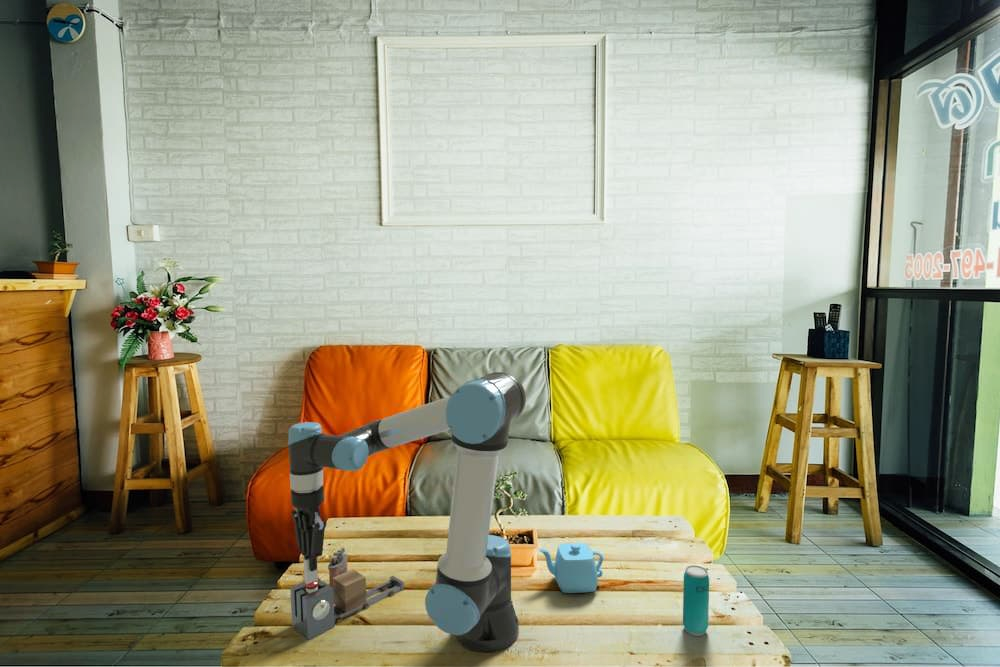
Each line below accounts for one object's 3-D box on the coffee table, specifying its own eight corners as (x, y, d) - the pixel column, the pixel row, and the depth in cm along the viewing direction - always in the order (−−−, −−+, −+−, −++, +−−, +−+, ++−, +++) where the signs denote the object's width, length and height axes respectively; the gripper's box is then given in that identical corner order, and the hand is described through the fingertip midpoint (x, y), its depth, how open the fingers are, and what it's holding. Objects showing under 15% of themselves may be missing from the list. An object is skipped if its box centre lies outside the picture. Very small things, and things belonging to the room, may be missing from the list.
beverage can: (713, 635, 134) (714, 574, 133) (692, 639, 133) (693, 578, 131) (698, 621, 140) (699, 563, 139) (677, 625, 138) (678, 566, 137)
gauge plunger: (321, 608, 139) (320, 582, 139) (309, 614, 137) (308, 587, 136) (315, 603, 141) (314, 577, 141) (303, 608, 139) (302, 582, 138)
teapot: (535, 574, 163) (535, 536, 162) (597, 572, 164) (597, 534, 163) (541, 598, 151) (541, 557, 150) (608, 596, 152) (608, 555, 151)
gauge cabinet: (335, 627, 139) (334, 588, 138) (308, 640, 134) (307, 600, 133) (318, 614, 145) (316, 576, 144) (292, 626, 140) (290, 587, 139)
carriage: (366, 603, 147) (365, 577, 146) (346, 612, 143) (345, 586, 142) (353, 594, 151) (353, 569, 150) (333, 603, 147) (332, 577, 146)
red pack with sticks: (337, 594, 154) (336, 559, 153) (326, 593, 154) (324, 558, 153) (351, 579, 162) (350, 545, 161) (340, 578, 162) (339, 544, 161)
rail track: (404, 589, 156) (404, 582, 156) (306, 638, 135) (305, 630, 135) (392, 581, 160) (391, 575, 160) (294, 627, 139) (293, 620, 139)
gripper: (335, 490, 134) (339, 585, 137) (308, 477, 143) (312, 566, 146) (305, 498, 129) (310, 597, 131) (279, 485, 138) (284, 577, 140)
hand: (311, 581), depth 138 cm, fingers closed
